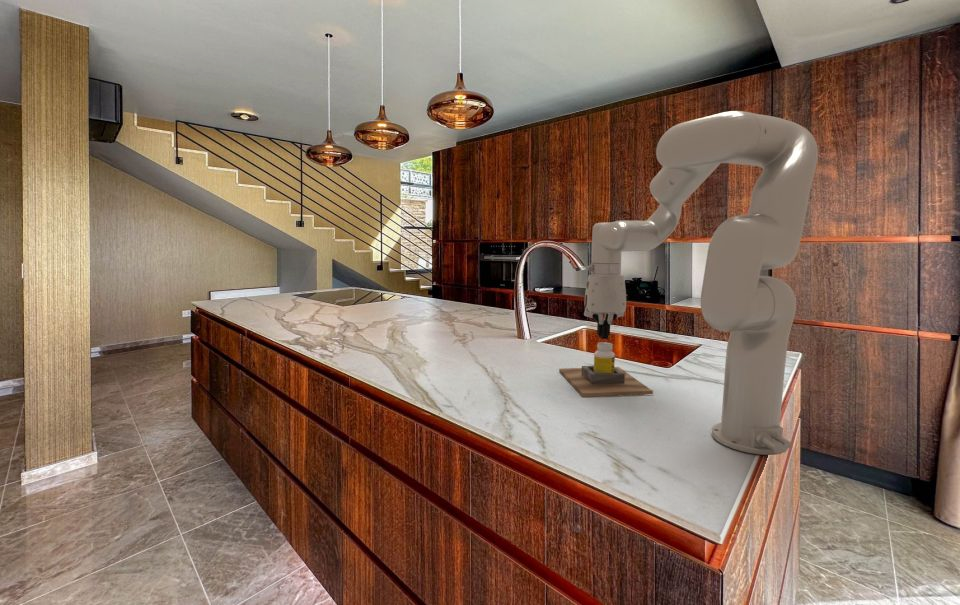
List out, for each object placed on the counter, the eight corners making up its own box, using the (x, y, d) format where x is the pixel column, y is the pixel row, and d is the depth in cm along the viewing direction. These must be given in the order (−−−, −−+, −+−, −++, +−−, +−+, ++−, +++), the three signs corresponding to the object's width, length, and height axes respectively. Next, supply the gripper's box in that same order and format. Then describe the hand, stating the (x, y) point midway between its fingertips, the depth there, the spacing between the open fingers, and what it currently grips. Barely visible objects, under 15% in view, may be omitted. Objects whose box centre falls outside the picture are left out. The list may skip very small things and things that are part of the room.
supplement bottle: (614, 382, 119) (616, 346, 118) (593, 381, 120) (594, 345, 119) (612, 376, 124) (614, 342, 123) (592, 375, 125) (593, 341, 124)
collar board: (652, 394, 112) (653, 381, 112) (582, 397, 111) (582, 383, 110) (618, 370, 134) (618, 358, 134) (559, 371, 133) (559, 360, 132)
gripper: (582, 271, 114) (580, 341, 117) (639, 270, 115) (635, 340, 118) (573, 269, 122) (572, 335, 124) (627, 268, 123) (624, 334, 125)
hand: (603, 337), depth 121 cm, fingers closed
